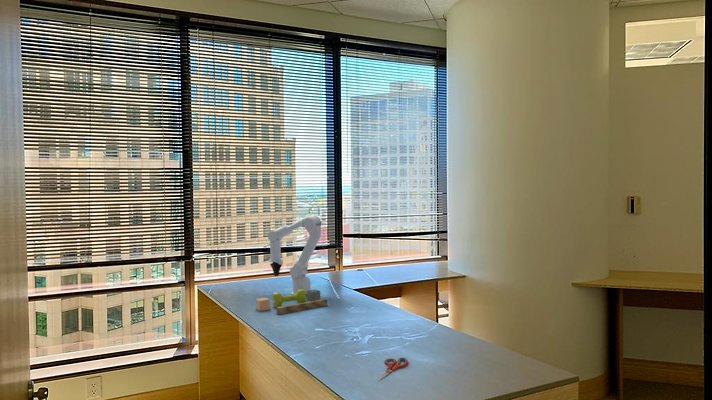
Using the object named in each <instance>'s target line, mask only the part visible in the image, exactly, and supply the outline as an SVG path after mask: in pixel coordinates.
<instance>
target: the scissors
mask: <svg viewBox="0 0 712 400" xmlns="http://www.w3.org/2000/svg"><path fill="white" fill-rule="evenodd" d="M401 362H404V363H403V364H402V363H401ZM408 364H409V362H408V359H407V358H406V357H399V358H398V359H395V358H392V357H391V358H386V359H385V360H384V365H385V366H387V368H386V371H385V372H384V373H383V374H382V375H381V376H380V377H379V378H378V379H377V382H376V383H379V382H380V381H382V380H383V379H385V378H386V377H388V376H389V375H390V374H392V373H393V372H396V371H397V370H399V369H404V368H406V366H408Z"/></svg>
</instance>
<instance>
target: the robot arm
mask: <svg viewBox="0 0 712 400" xmlns="http://www.w3.org/2000/svg"><path fill="white" fill-rule="evenodd" d="M322 225H323V223H322V220H321V219H320V217H319V216H317V215H316V216H315V215H314V216H309V217H308V216H307V217H305V218H302V219H299V220H297V221H296V222H293V223H291V224H290V225H288V224H282V225H281V226H280V227H279V228H275V229H274V230H270V231H269V232H268V233H267V239H268V241H269V249H270V258H268V262H269V266H270V267H271V269H272V273H273V275H274V277H278V276H279V275H280V271H281V267H282V265H284V262H283V261H284V260H282V253H281V252H282V251H281V250H282V249H281V242H282V241H281V240H282V239H283V238H285V237H287V236H289V235H291V234H292V232H293V231H294V230H295V231H296V230H297V229H299V228H301V227H302V228H304V229H305V230H306V232H307V233H308V234H309V237H308V239H307V242H306V243H305V246H304V248H303V250H302V252H301V254H300V256H299V258H298V260H297V261H296V262H295V263H294V264H293V266H292V267H291V268H290V269H289V275H290V277H291V280H292V281H291V282H292V291H291V292H289V294H290V295H295V294H296V293H297V290H299V289H303V290H304V291H305V293H306V295H307V291H309V290H312V288H311V278H310V277H309V276H306V274H307V273H308V268H309V264H308V263H309V262H310V259H311V257H312V255H313V253H314V251H315V249H316V246H317V245H318V243H319V241H320V239H321V236H322Z"/></svg>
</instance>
